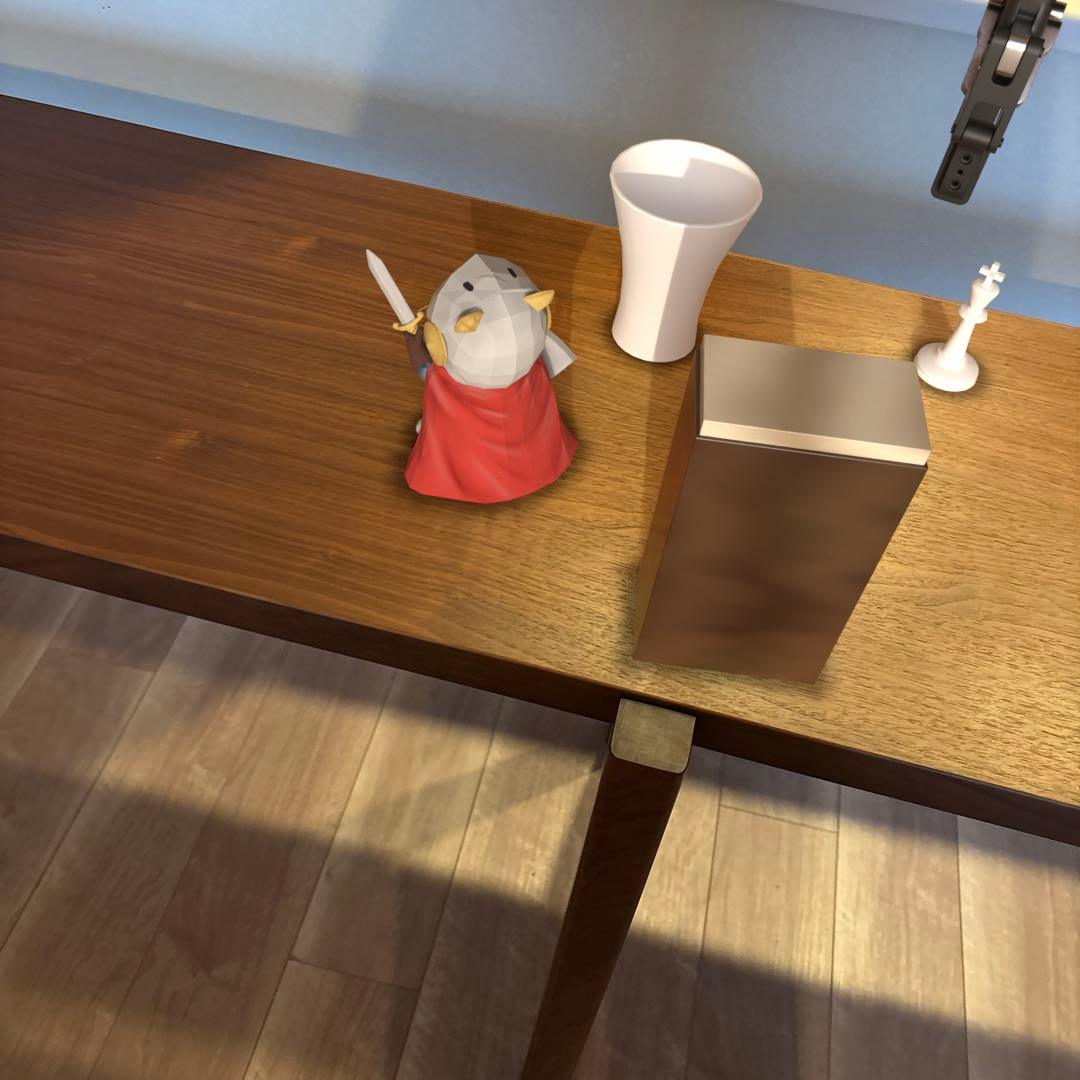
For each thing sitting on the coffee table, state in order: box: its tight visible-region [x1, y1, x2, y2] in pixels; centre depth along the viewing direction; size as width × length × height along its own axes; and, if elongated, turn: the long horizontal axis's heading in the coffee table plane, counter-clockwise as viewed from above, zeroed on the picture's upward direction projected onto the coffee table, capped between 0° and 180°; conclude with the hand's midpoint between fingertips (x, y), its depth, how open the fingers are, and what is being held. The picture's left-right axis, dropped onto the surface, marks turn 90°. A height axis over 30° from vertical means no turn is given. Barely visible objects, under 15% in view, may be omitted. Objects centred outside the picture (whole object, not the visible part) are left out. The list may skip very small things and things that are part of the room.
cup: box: [609, 138, 764, 363], centre depth 80 cm, size 10×10×14 cm
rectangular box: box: [632, 333, 932, 685], centre depth 60 cm, size 11×6×20 cm, turn 84°
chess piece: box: [912, 260, 1007, 392], centre depth 82 cm, size 5×5×10 cm
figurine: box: [365, 248, 579, 505], centre depth 71 cm, size 13×11×15 cm
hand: (959, 164), depth 66 cm, fingers open, 8 cm apart
